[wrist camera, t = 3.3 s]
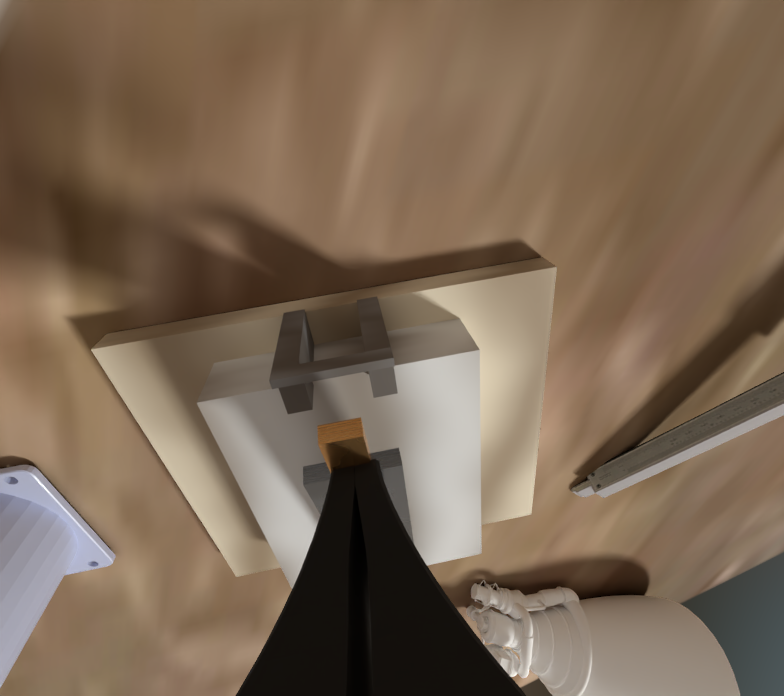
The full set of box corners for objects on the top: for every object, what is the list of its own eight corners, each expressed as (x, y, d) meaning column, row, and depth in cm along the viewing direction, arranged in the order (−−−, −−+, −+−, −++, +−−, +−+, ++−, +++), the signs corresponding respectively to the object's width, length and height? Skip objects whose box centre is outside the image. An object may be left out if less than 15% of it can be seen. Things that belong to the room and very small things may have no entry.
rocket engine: (470, 777, 22) (735, 845, 24) (520, 560, 25) (752, 638, 27) (417, 659, 33) (601, 712, 35) (455, 519, 36) (623, 576, 38)
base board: (240, 556, 24) (219, 666, 19) (104, 331, 15) (6, 429, 11) (523, 497, 25) (568, 588, 20) (542, 254, 16) (630, 313, 12)
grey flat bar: (356, 565, 20) (357, 579, 19) (284, 432, 11) (283, 451, 10) (414, 553, 20) (417, 566, 20) (393, 410, 11) (396, 429, 10)
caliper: (895, 235, 19) (1118, 284, 14) (900, 249, 19) (1118, 301, 14) (567, 485, 25) (630, 584, 20) (577, 491, 26) (641, 589, 21)
